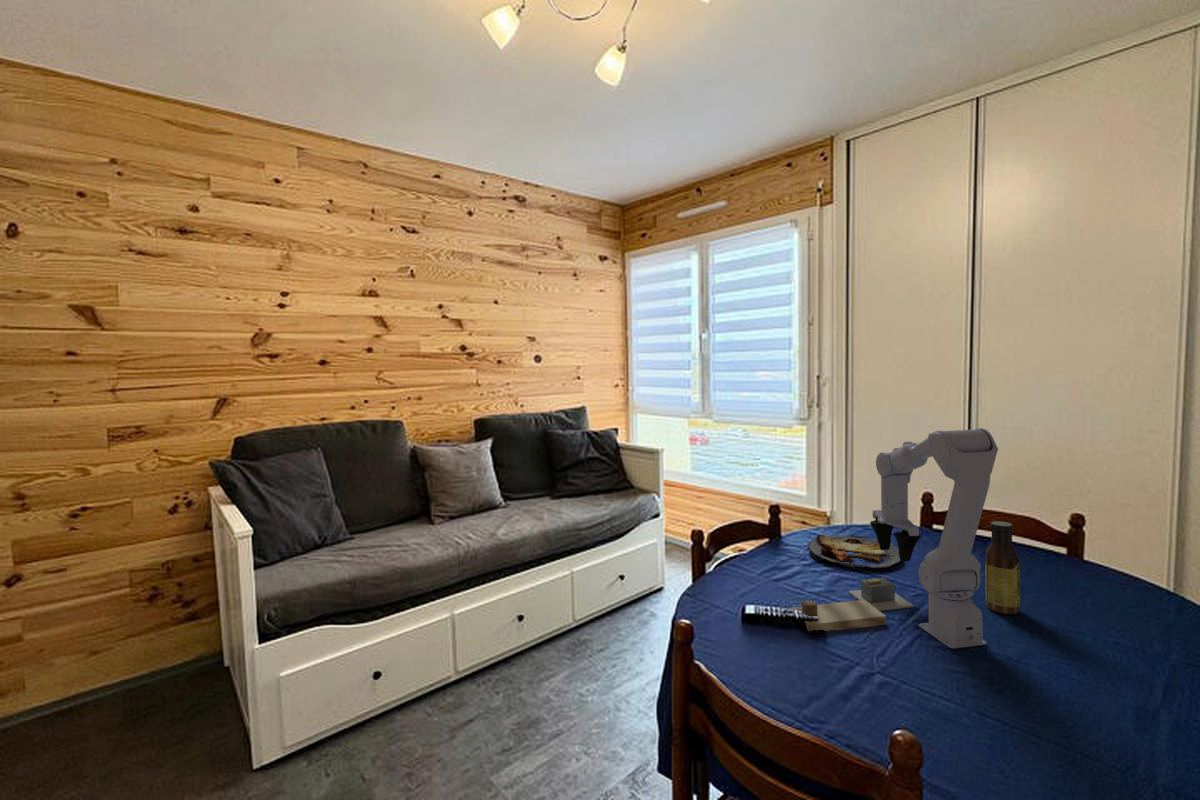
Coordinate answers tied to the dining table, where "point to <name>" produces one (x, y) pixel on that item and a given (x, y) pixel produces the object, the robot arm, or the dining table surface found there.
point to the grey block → (877, 590)
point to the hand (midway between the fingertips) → (894, 554)
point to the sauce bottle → (1002, 570)
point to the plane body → (841, 615)
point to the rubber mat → (887, 605)
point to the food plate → (852, 550)
